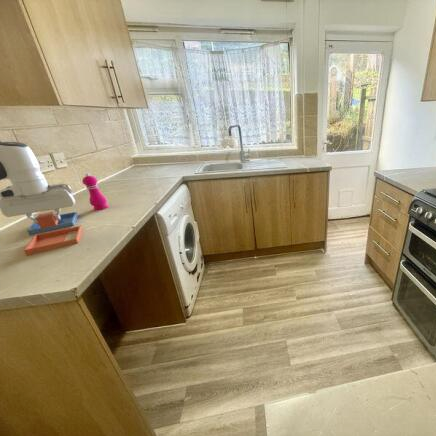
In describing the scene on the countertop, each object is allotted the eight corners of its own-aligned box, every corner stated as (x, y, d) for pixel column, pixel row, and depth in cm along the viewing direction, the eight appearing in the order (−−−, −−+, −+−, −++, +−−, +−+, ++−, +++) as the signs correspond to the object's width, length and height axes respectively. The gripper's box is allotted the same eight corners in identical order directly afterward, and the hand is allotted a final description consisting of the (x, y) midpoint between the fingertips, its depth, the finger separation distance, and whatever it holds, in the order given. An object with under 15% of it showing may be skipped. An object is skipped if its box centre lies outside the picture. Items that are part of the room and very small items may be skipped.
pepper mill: (112, 207, 135) (98, 171, 127) (98, 212, 129) (82, 175, 121) (104, 205, 138) (90, 171, 130) (90, 210, 132) (74, 174, 124)
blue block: (48, 226, 112) (44, 218, 111) (50, 223, 116) (46, 214, 114) (61, 224, 115) (57, 215, 113) (63, 221, 118) (59, 212, 116)
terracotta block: (41, 228, 94) (35, 217, 92) (43, 224, 97) (38, 214, 95) (56, 225, 96) (51, 215, 94) (58, 221, 99) (54, 211, 98)
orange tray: (26, 256, 90) (23, 250, 89) (37, 240, 102) (34, 234, 101) (78, 244, 97) (76, 238, 96) (83, 230, 109) (81, 225, 108)
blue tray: (29, 235, 106) (27, 230, 105) (38, 223, 118) (36, 218, 116) (74, 226, 113) (72, 221, 112) (78, 216, 125) (76, 211, 124)
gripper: (69, 181, 98) (82, 212, 103) (-4, 190, 88) (15, 224, 93) (66, 184, 93) (80, 217, 99) (-11, 194, 83) (9, 230, 88)
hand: (48, 221), depth 96 cm, fingers closed on terracotta block, 4 cm apart
